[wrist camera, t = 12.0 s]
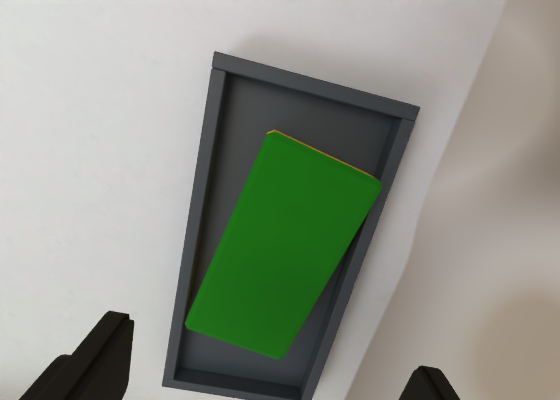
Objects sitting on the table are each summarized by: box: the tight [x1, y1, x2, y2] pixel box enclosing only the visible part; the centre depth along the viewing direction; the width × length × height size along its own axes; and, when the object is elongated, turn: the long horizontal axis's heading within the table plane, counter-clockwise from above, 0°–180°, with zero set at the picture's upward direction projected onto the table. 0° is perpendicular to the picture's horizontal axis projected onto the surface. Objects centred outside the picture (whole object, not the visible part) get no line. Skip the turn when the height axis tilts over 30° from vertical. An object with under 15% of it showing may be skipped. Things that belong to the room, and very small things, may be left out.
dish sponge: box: [185, 130, 382, 359], centre depth 18 cm, size 7×14×2 cm, turn 155°
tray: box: [162, 51, 420, 400], centre depth 19 cm, size 24×12×2 cm, turn 166°
